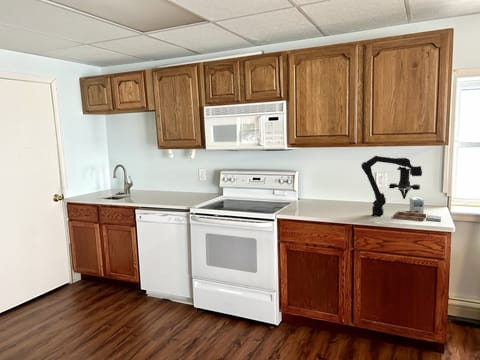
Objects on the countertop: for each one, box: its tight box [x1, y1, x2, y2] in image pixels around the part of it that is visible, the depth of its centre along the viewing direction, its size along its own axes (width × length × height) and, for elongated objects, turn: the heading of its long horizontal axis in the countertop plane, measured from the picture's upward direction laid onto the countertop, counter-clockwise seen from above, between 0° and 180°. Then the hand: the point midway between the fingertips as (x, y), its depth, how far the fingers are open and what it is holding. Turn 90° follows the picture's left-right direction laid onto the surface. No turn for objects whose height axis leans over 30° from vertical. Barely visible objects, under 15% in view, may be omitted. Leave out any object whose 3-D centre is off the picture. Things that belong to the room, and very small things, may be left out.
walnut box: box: [392, 211, 427, 222], centre depth 241 cm, size 18×12×3 cm, turn 55°
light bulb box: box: [409, 196, 425, 214], centre depth 255 cm, size 11×7×11 cm, turn 170°
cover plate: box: [425, 214, 442, 223], centre depth 234 cm, size 8×8×3 cm
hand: (404, 198), depth 248 cm, fingers closed
